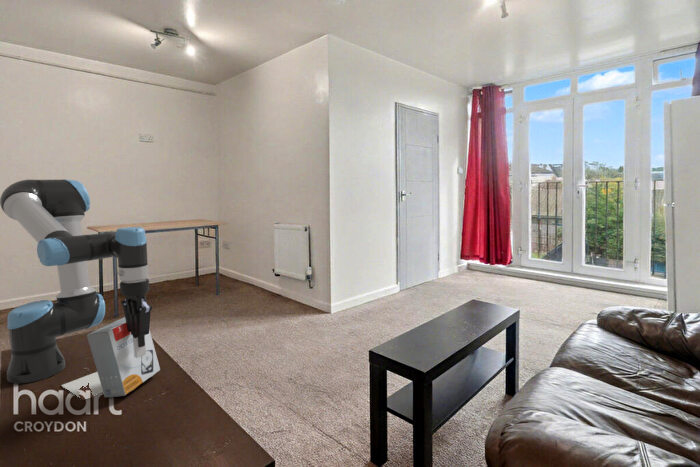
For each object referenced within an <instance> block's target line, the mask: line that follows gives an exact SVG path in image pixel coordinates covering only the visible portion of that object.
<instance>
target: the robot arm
mask: <svg viewBox="0 0 700 467" xmlns="http://www.w3.org/2000/svg"><path fill="white" fill-rule="evenodd" d="M90 205H91V199H90V195H89V193H88V190H87V189H86V187H85V186H84V184H83V183H81V182H80V181H78V180H75V179H74V180H72V179H23V180H19V181H16V182H14V183H12V184H10V185H9V186H7V187H6V188H5V189H4V190H3V191H2V193H1V195H0V208H1V210H2V212H3V213H4V214H5V215H6V216H7V217H8V218H9V219H12V220H15V221H17V223H19V224H20V226H22V228H24V230H25V231H26V232H27V233H28V234H29V235H30V236H31V237H32V238H33V239H34V241H35V242H37V247H36V252H37V254H36V255H37V258H38V259H39V262H40V264H42V265H43V266H44V267H45V266H46V267H54V266H56V268H57V274H58V279H59V286H60V287H59V288H60V292H58V294H57V295H56V302H52V301H51V300H49V299H45V300H44V299H42V300H36V301H35V300H34V301H31V302H28V303H25V304H21V305H20V306H19V305H18V306H16V307H15V308H13V309H12V310H10V311H9V313H8V314H7V325H6V327H7V329H8V337H9V338H8V339H9V345H10V351H11V358H10V360H9V364H8V367H7V371H6V380H7V382H9V383H11V384H27V383H33V382H37V381H41V380H42V381H43V380H44V379H48V378H49V377H52V376H54V375H55V376H56V375H57V374H59V373H60V372H62V371H63V370H64V369H65V368H66V360H65V357H64V356H63V354H62V352H61V350H60V349H59V347H58V344H57V337H61V336H64V335H69V334H72V333H75V332H78V331H83V330H88V329H90V328H92V327H94V326H99V324H100V323H101V324H102V321H103V320H104V317H105V315H106V303H105V300H104V297H103V295H102V294H100V293H97V291H96V289H95V288H94V287H92V286H91V284H90V277H89V271H88V262H89V261H96V260H102V259H108V258H116V259H117V265H118V271H117V275H119V276H118V277H119V278H118V279H119V281H120V282H119V291H120V294H121V295H122V296H124V298H125V299H122V300H121V301H120V303H121V306H122V308H123V313H124V317H125V319H126V324H127V329H128V332H131V335H132V336H133V346H134V357H135V358H139V357H142V356H144V355H146V348H145V335H147V334H149V330H150V324H151V313H152V309H153V306H152V305H151V304H148V303H147V300H148V299H147V297H146V294H147V293H148V292H149V291H150V279H148V278H149V277H150V276H149V264H148V248H147V247H148V246H147V240H148V239H147V237H146V236H147V235H146V230H145V228H143V227H140V226H126V227H125V226H124V227H119V228H117V229H116V230H115V231H114V230H110V231H107V230H106V231H102V232H101V233H94V234H93V233H92V234H91V233H90V234H83V229H82V220H83V219H84V218H85V213H87V212H88V211H89V210H90V207H91V206H90Z"/></svg>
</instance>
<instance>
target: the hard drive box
mask: <svg viewBox="0 0 700 467" xmlns="http://www.w3.org/2000/svg"><path fill="white" fill-rule="evenodd" d="M86 338H87V341H88V344H89V346H90V347H89V348H90V350H91V354H92V358H93V361H94V364H95V368H96V372H98V375H99V379H100V382H101V386H102V389H103V393H102V394H103V397H104V398H115V397H124V396H126V395H127V394H129V393H130V392H133V391H134V390H135V389H136V388H137V387H139V386H140V385H141V384H143V383H145V382H146V381H147V380H148V379H150V378H151V377H153V376H154V375H155V374H157V373H158V372H160V371H161V367H160V364H159V360H158V357H157V356H158V355H157V352H156V349H155V345H154V341H153V337H152V334H151V330H150V329H149V334H147V335H145V348H146V355H144V356H142V357H139V358H135V357H134V346H133V336H132V335H131V332H128V329H127V324H126V319H125V316H123V317H122V318H120V319H118V320H115V321H113V322H111V323H109V324H107V325H105V326H102V327H101V328H98V329H95V330H94V331H91V332H90V333H87V334H86Z"/></svg>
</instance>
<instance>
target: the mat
mask: <svg viewBox="0 0 700 467" xmlns="http://www.w3.org/2000/svg"><path fill="white" fill-rule="evenodd" d="M88 383H89V388H90V389H91V391H92V392H91V393H92V395H93V396H94V395H96V394H99V395H101V394H104V393H103V389H102V386H101V382H100V379H99V375H98V372H97V371H96V372H93V373H90V374H87V375H84V376H82V377H80V378H76V379H75V380H72V381H69V382H66V383H63V384H61V386H62V387H61V388H63V389H64V388H65V389H64V390H66V389H67V390H69V391H70V392H72V393H73V394H75V395H76V396H77V397H76V396H75V395H74V396H75V397H76V398H78V397H79V398H80V396H79V393H80V392H79V391H78V390H79V389H80V388H81V387H82V386H84V387H86V386H87V385H88ZM84 387H83V388H84ZM86 388H87V387H86ZM67 390H66V391H67ZM69 391H68V392H69ZM70 392H69V393H70ZM72 393H71V394H72ZM100 393H101V394H100ZM73 394H72V395H73ZM96 396H97V395H96ZM94 397H95V396H94ZM79 398H78V399H79Z"/></svg>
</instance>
